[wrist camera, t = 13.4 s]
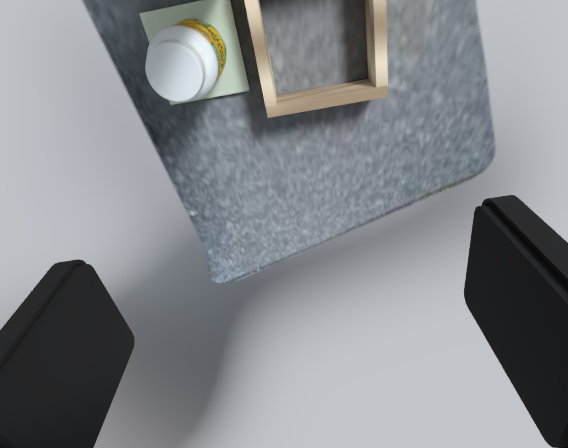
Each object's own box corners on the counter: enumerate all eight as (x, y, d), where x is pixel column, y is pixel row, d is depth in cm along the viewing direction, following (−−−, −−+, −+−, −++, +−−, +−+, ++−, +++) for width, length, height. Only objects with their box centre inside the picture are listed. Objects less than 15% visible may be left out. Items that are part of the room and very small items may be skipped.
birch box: (240, -38, 30) (236, -40, 27) (374, -67, 29) (384, -72, 26) (268, 107, 37) (267, 118, 34) (379, 87, 36) (387, 96, 33)
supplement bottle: (156, 39, 33) (116, 57, 25) (204, 4, 32) (178, 11, 24) (193, 92, 36) (168, 124, 28) (239, 62, 34) (227, 87, 26)
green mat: (140, 13, 32) (139, 13, 32) (229, -6, 32) (228, -6, 31) (171, 104, 37) (170, 105, 36) (249, 89, 36) (249, 90, 36)
